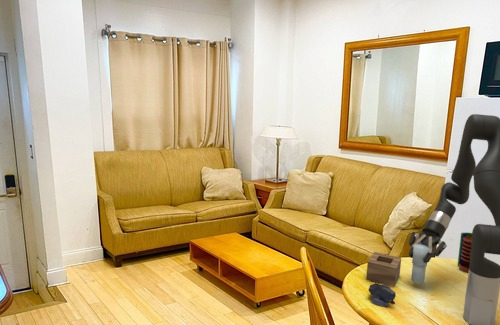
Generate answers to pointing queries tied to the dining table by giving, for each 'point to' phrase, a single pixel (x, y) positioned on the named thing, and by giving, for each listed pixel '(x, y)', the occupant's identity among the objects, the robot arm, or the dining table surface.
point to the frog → (381, 294)
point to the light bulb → (419, 263)
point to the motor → (465, 252)
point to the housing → (383, 269)
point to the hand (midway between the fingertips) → (417, 259)
